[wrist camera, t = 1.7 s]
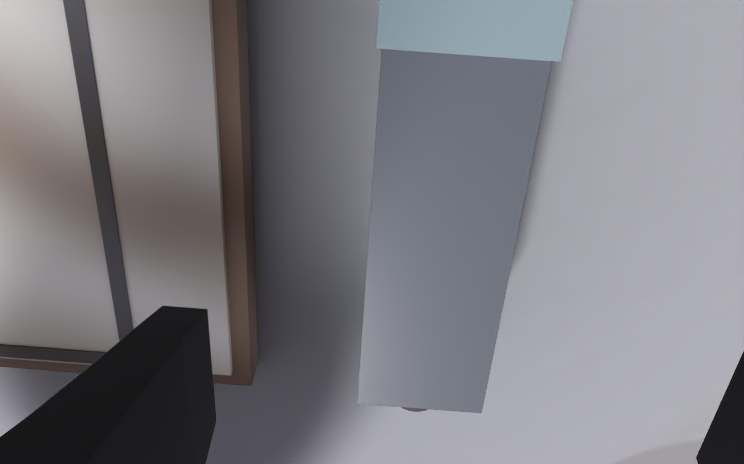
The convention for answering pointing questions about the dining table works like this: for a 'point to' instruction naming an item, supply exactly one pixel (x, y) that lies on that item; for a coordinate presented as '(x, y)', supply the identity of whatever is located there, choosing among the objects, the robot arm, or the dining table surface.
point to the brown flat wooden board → (124, 177)
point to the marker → (449, 190)
